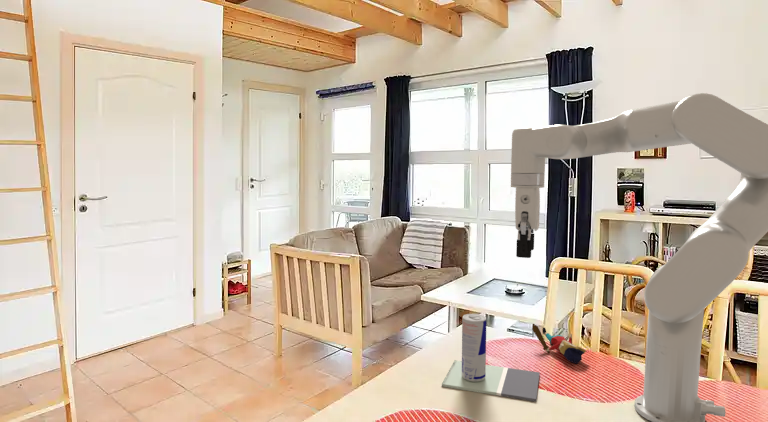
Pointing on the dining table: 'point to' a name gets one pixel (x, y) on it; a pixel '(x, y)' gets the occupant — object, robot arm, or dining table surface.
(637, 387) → the dining table surface
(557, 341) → the toy
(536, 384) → the mat
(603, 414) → the dining table surface
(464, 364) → the beverage can
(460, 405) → the dining table surface
